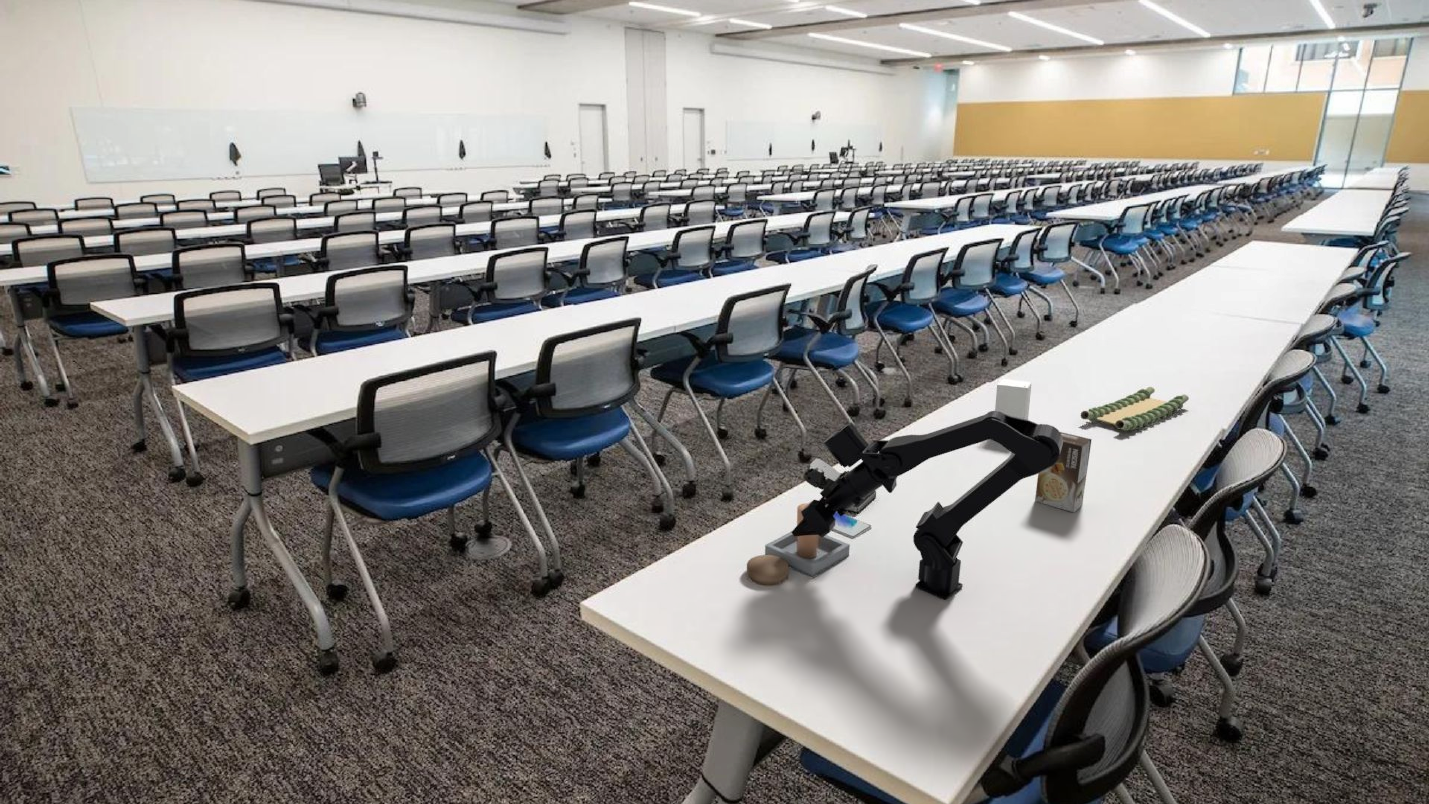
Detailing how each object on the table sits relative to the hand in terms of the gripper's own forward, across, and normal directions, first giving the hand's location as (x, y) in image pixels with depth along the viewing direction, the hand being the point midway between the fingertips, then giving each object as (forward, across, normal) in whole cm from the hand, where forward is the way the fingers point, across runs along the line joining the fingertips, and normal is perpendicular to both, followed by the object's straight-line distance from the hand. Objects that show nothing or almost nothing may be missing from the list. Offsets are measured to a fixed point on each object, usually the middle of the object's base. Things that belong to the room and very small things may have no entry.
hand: (801, 524), depth 158 cm
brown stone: (+7, +10, +3) cm, 13 cm away
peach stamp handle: (+3, 0, +5) cm, 6 cm away
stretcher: (-37, -123, +48) cm, 137 cm away
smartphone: (+4, -17, +6) cm, 18 cm away
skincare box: (-15, -90, +25) cm, 95 cm away
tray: (+4, 0, +6) cm, 7 cm away
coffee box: (-26, -49, +36) cm, 67 cm away
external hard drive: (+4, -28, +7) cm, 29 cm away
